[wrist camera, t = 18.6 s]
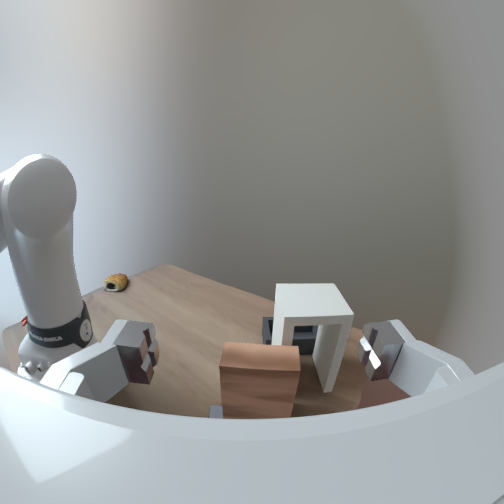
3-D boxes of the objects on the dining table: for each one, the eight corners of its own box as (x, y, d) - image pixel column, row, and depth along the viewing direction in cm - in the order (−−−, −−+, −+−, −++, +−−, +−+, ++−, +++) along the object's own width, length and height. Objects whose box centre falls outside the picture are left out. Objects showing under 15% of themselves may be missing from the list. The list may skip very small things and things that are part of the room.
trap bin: (264, 355, 51) (265, 339, 50) (262, 332, 59) (263, 317, 57) (323, 353, 52) (326, 337, 50) (314, 330, 59) (317, 316, 58)
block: (227, 396, 40) (225, 341, 36) (288, 399, 40) (298, 345, 35) (223, 418, 35) (219, 365, 31) (289, 423, 35) (300, 370, 31)
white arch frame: (274, 396, 41) (284, 317, 35) (270, 358, 50) (276, 283, 45) (331, 392, 41) (354, 314, 36) (319, 356, 51) (333, 283, 45)
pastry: (114, 279, 80) (113, 268, 79) (132, 280, 81) (131, 269, 79) (102, 292, 72) (100, 280, 70) (121, 293, 72) (119, 281, 71)
